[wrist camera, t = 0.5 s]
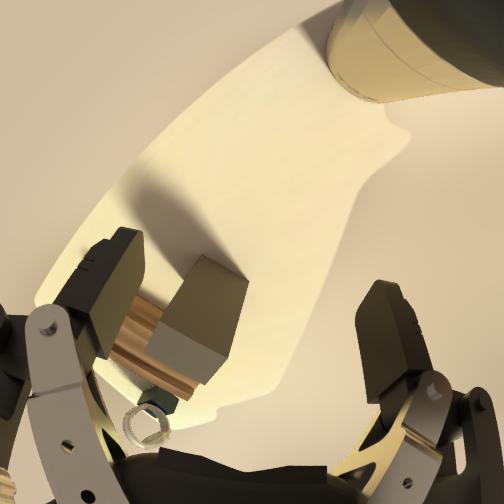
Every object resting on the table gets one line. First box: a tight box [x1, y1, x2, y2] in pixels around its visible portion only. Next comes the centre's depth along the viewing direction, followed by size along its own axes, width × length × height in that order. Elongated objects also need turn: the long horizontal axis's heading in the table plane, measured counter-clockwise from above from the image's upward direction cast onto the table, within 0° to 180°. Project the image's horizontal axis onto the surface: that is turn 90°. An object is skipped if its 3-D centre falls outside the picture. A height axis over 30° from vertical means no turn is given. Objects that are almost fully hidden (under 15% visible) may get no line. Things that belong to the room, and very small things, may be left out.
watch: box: [123, 386, 179, 450], centre depth 39 cm, size 6×8×11 cm
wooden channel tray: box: [109, 295, 200, 401], centre depth 36 cm, size 10×18×4 cm, turn 60°
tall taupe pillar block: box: [144, 254, 249, 385], centre depth 27 cm, size 5×6×12 cm
